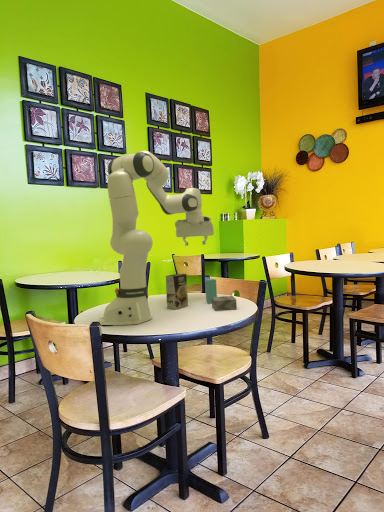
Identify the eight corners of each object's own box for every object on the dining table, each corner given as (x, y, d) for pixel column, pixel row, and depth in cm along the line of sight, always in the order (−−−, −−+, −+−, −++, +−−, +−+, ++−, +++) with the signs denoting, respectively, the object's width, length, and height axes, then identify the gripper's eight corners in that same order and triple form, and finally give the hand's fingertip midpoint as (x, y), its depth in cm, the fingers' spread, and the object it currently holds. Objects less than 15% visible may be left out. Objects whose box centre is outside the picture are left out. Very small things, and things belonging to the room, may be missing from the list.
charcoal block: (215, 311, 181) (214, 300, 181) (212, 307, 191) (211, 297, 191) (236, 310, 182) (236, 299, 182) (232, 305, 192) (232, 295, 192)
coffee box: (177, 309, 189) (175, 276, 188) (166, 308, 193) (164, 275, 192) (188, 306, 196) (187, 273, 195) (178, 305, 200) (176, 273, 199)
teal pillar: (208, 304, 198) (207, 280, 197) (206, 302, 203) (205, 279, 202) (217, 303, 199) (216, 279, 198) (214, 301, 204) (213, 278, 203)
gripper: (175, 219, 204) (177, 246, 205) (214, 217, 209) (215, 244, 210) (173, 220, 211) (175, 246, 212) (210, 218, 215) (212, 243, 216)
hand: (195, 245), depth 211 cm, fingers open, 8 cm apart
